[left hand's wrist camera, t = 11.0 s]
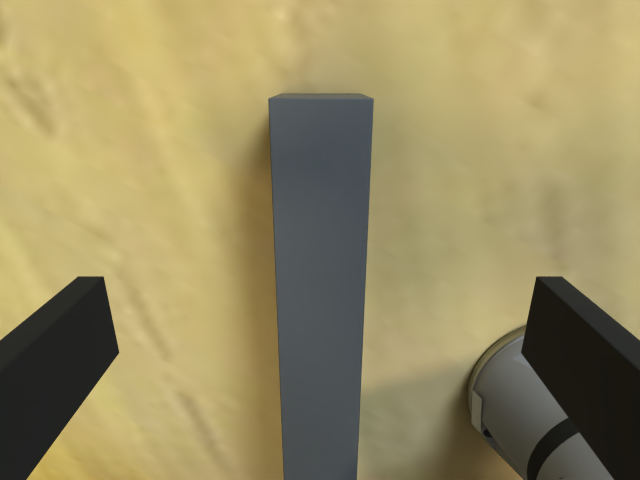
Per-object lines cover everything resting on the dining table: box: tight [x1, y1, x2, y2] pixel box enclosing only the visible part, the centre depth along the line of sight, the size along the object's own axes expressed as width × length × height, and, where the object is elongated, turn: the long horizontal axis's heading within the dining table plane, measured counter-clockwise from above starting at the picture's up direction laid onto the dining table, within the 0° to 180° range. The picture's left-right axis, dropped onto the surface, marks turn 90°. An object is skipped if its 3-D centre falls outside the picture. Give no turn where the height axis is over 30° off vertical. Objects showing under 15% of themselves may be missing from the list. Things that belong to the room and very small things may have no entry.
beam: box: [268, 94, 374, 480], centre depth 38 cm, size 61×6×8 cm, turn 0°
